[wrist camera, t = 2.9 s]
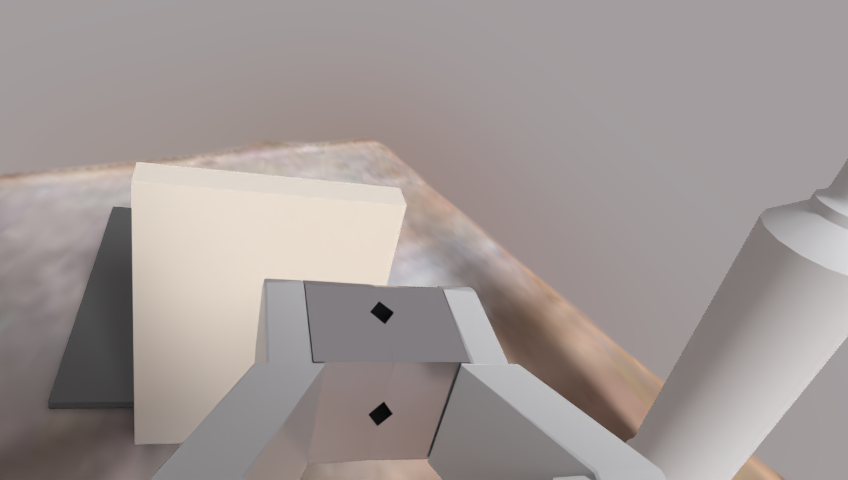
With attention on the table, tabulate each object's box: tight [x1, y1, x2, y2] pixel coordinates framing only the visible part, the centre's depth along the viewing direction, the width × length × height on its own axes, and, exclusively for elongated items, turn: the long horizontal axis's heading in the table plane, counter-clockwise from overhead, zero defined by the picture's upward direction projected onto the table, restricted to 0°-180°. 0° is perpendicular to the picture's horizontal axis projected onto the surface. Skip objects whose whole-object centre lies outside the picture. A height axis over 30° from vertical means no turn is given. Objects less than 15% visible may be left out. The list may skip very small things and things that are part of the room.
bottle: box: [626, 159, 848, 480], centre depth 27 cm, size 5×5×25 cm
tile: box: [131, 162, 407, 445], centre depth 28 cm, size 10×2×14 cm, turn 102°
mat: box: [48, 207, 134, 408], centre depth 40 cm, size 18×18×1 cm
